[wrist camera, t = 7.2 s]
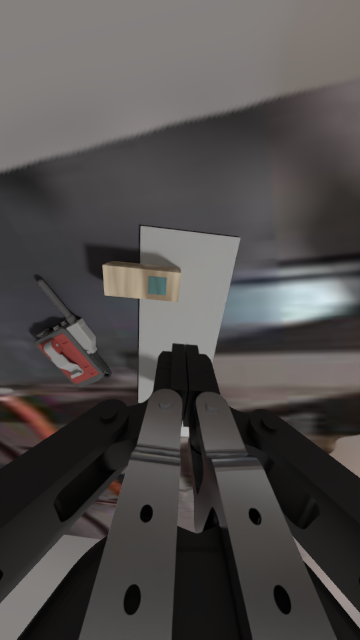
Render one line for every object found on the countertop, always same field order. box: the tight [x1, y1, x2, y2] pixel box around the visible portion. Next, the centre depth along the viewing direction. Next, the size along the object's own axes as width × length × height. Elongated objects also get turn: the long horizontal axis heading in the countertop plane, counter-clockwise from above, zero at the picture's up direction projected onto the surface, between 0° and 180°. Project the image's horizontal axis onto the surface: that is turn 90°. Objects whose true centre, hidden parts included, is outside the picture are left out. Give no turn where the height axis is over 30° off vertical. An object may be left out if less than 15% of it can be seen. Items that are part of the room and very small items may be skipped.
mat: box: [138, 226, 240, 403], centre depth 32 cm, size 14×34×1 cm, turn 174°
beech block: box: [103, 261, 181, 302], centre depth 26 cm, size 4×4×10 cm
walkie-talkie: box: [34, 279, 112, 388], centre depth 30 cm, size 9×4×20 cm
